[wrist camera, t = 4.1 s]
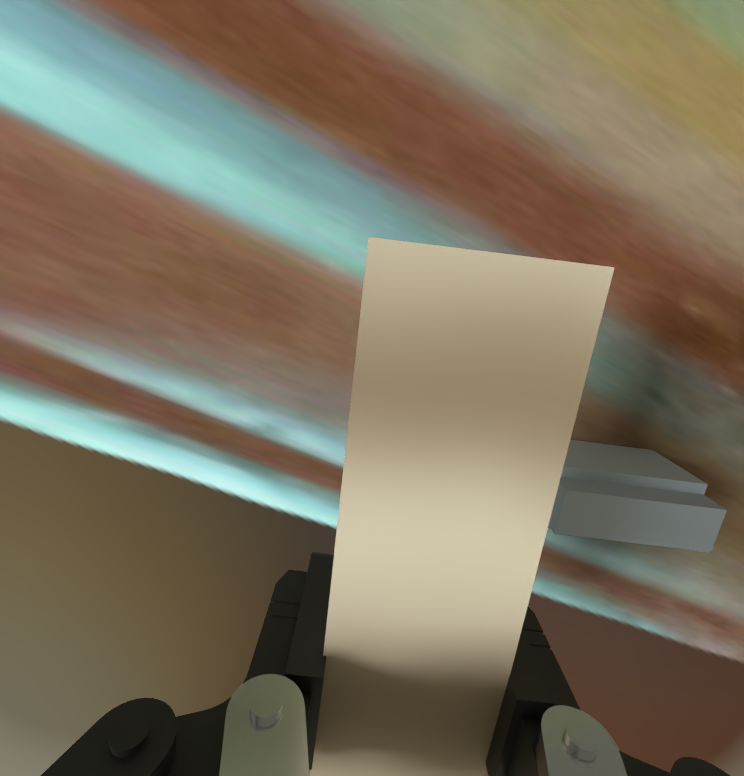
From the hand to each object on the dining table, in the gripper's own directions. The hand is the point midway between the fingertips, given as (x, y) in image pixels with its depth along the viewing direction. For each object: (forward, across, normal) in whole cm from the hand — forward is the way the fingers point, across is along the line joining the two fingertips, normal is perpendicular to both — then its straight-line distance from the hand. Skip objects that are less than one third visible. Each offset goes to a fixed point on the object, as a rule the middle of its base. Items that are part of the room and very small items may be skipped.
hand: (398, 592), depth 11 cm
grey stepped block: (+15, -13, +2) cm, 20 cm away
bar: (0, 0, 0) cm, 0 cm away
